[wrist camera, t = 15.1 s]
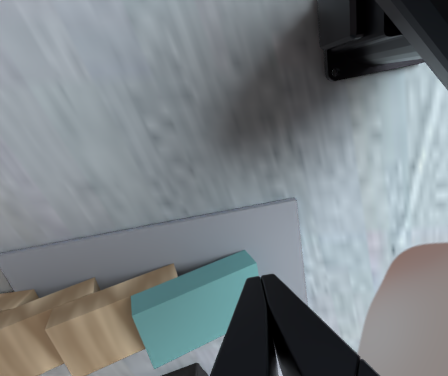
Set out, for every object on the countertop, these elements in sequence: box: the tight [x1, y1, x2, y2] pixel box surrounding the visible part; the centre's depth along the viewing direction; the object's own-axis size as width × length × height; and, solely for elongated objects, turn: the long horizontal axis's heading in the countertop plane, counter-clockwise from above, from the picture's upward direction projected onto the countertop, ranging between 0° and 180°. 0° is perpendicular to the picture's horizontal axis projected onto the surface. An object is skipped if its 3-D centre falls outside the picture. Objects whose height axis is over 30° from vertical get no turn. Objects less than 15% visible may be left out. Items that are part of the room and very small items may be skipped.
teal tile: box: [131, 250, 259, 369], centre depth 20 cm, size 2×5×9 cm
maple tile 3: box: [0, 277, 101, 376], centre depth 20 cm, size 2×5×9 cm
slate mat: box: [0, 198, 308, 306], centre depth 22 cm, size 24×12×1 cm, turn 101°
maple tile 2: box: [45, 263, 178, 376], centre depth 20 cm, size 2×5×9 cm
